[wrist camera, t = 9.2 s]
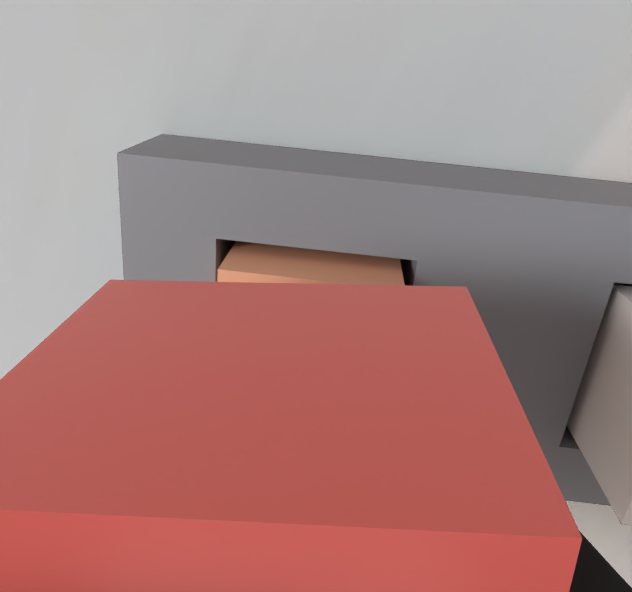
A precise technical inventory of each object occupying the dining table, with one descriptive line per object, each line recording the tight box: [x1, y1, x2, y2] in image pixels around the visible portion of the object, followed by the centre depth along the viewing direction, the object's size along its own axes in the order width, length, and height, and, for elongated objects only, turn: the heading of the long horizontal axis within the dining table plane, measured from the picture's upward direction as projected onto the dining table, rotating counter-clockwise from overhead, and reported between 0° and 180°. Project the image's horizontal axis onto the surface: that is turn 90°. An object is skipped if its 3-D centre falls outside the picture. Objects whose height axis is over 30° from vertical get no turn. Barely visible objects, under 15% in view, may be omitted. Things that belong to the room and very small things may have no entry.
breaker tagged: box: [217, 241, 405, 285], centre depth 14 cm, size 4×4×4 cm
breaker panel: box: [117, 134, 632, 506], centre depth 15 cm, size 18×8×3 cm, turn 85°
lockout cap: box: [0, 280, 582, 592], centre depth 8 cm, size 6×6×5 cm
